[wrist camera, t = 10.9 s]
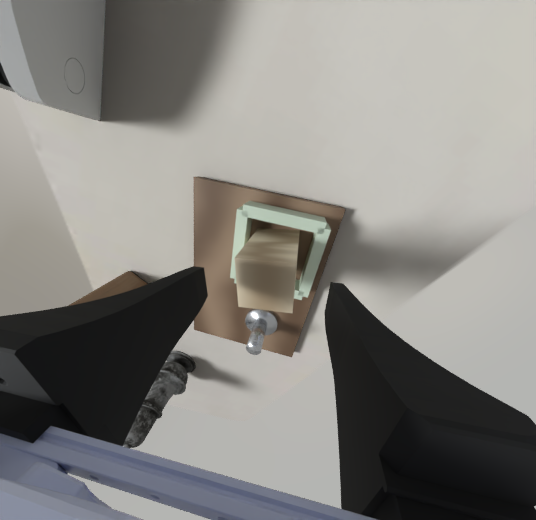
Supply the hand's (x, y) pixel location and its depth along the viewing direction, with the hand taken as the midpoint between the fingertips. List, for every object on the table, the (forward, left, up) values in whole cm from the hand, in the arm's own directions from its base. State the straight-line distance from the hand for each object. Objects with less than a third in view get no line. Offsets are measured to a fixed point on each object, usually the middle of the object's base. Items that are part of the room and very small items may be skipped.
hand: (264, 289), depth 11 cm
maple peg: (0, +1, -9) cm, 9 cm away
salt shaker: (+12, +26, -10) cm, 31 cm away
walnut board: (+2, +6, -10) cm, 12 cm away
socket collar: (0, +1, -9) cm, 9 cm away
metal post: (0, +11, -9) cm, 14 cm away
